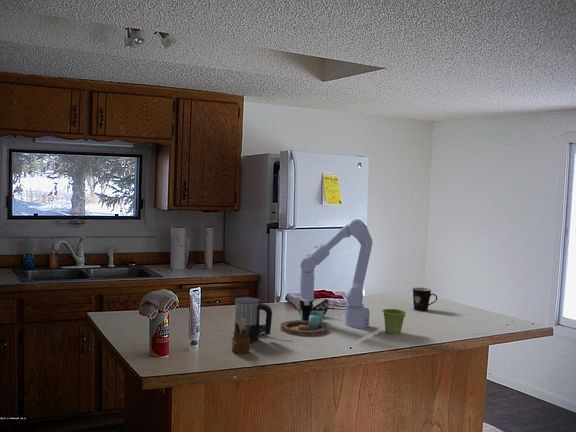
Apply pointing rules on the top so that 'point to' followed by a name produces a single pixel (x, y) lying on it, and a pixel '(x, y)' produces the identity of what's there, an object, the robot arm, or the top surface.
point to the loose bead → (319, 315)
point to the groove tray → (295, 327)
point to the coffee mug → (422, 298)
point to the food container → (318, 306)
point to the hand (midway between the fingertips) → (305, 319)
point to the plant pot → (393, 320)
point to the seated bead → (313, 322)
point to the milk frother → (252, 316)
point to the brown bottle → (241, 340)
